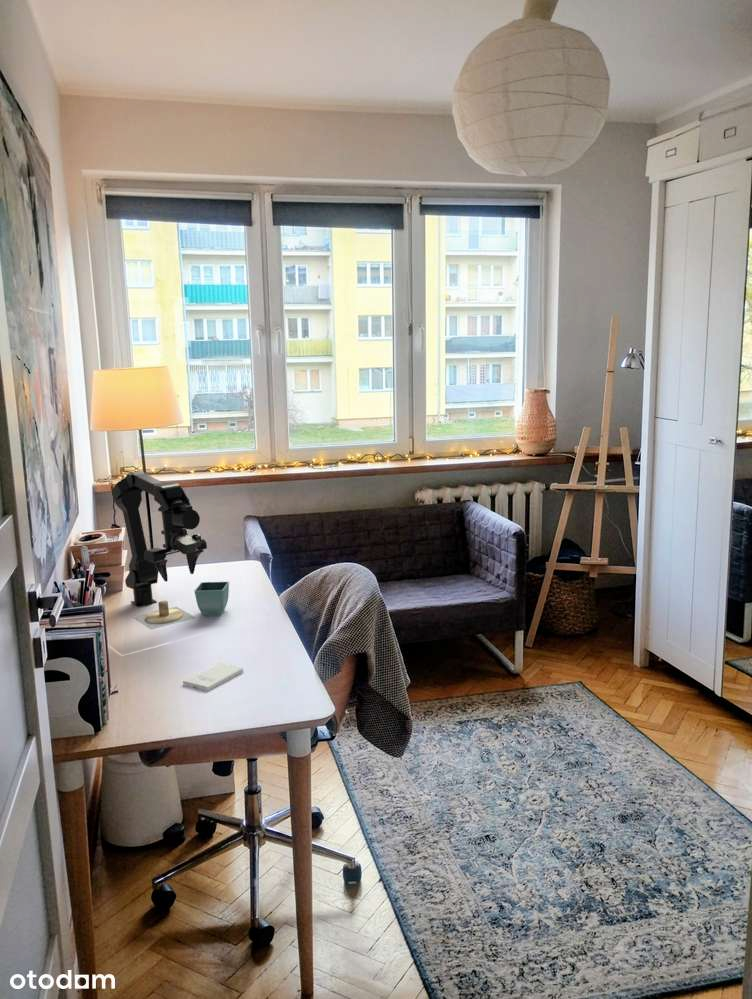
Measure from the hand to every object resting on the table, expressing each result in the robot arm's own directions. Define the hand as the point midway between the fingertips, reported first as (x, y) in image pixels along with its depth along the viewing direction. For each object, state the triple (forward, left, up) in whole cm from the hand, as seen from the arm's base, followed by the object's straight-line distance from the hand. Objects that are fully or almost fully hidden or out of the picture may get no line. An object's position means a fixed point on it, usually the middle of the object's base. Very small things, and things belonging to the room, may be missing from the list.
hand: (179, 577), depth 232 cm
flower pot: (+4, +9, -13) cm, 16 cm away
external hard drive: (+48, -13, -13) cm, 51 cm away
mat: (-3, -4, -13) cm, 14 cm away
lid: (-3, -4, -12) cm, 13 cm away
